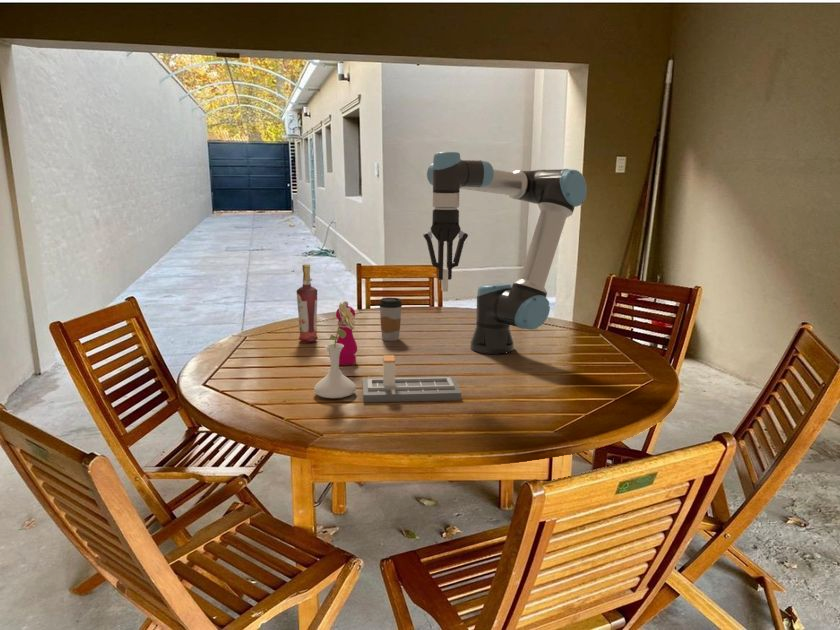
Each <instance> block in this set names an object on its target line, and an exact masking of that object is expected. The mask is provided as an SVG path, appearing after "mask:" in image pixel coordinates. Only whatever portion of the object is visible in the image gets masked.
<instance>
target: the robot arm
mask: <svg viewBox="0 0 840 630" xmlns="http://www.w3.org/2000/svg"><path fill="white" fill-rule="evenodd" d="M426 172H427V173H426V178H427V180H428V183H429V184H430V185H431V186H432V207H433V209H432V224H431V226H430V230H428V231H427V232H423V234H422V237H423V238H424V240H425V241H426V244H427V248H428V253H429V258H430V262H431V263H430V264H431V266H433V267H435V268H437V278H438V280H439V281H440V282H441V287H440V291H442V293H443V292H444V293H445V292H449V280H452V278H453V277H452V273H453V268H455V267H458V266H459V263H460V259H461V256H462V252H463V248H464V245H465V241H466V240H467V238H468V237H469V234H468V233H466V232H464V231H463V230H461V226H460V210H459V209H458V208H459V207H460V190H467V191H468V190H469V191H477V192H482V193H489V194H490V193H491V194H496V195H505V196H508V197H509V198H511V199H512V200H513V199H514V200H519V201H524V202H528V203H532V204H536V205H537V206H538V208H539V210H540V212H539V216H538V218H537V222H536V226H535V228H534V232H533V234H532V237H531V241H530V244H529V247H528V250H527V253H526V257H525V261H524V263H523V265H522V270H521V273H520V275H519V278H518V279H517V280H515V281H514V282H512V284H511V283H489V284H482V285H480V286H479V287H477V288H478V289H477V295H476V321H475V322H476V323H475V328H474V332H473V334H472V338H471V340H470V349H471V350H472V351H474V352H477V353H480V354H489V355H500V354H499V353H505V354H507V353H506V352H509V353H511V352H510V351H512V350H513V351H514V346H515V344H514V339H513V336H512V333H511V329H510V327H511V326H512V327H516V328H519V329H520V330H521V329H522V330H527V331H528V330H529V331H530V330H531V331H532V330H533V331H534V330H537V329H539V327H541V326H543V324H544V323H545V322H546V321H547V319H548V318H549V314H550V309H551V306H550V301H549V299H548V298H547V295H548V291H547V289H546V288H545V287H546V284H547V283H546V282H547V280H548V276H549V273H550V270H551V267H552V264H553V261H554V258H555V254H556V251H557V249H558V246H559V242H560V239H561V237H562V236H561V235H562V233H563V230H564V226H565V223H566V219H567V218H569V217H570V216H572V215H573V213H574V211H575V207H576V208H577V207H579V206H581V205H582V204H583V203H584V202H585V201H586V197H587V193H588V192H587V191H588V185H587V183H586V179H585V177H584V175H583V173H582V172H581V171H579V170H576V169H569V168H564V169H537V170H536V169H535V170H520V169H518V170H514V171H511V172H510V171H505V170H499V169H494V167H493V165H492V164H491V163H490V162H489V161H486V160H481V159H480V160H470V159H469V160H462V158H461V154H460V152H458V151H438V152H435V153H434V154H433V159H432V163H431V164H430V165H429V167H428V168H427V170H426ZM433 236H434V238H435V239H436V240H437V258H436V255H435V250H434V245H433V240H432V238H433ZM457 237H458V241H457V246H456V249H455V253H454V257H453V245H454V240H455V239H456V238H457ZM445 242H446V267H444V249H445V246H444V245H445ZM513 351H512V352H513Z"/></svg>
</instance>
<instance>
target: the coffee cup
mask: <svg viewBox="0 0 840 630" xmlns="http://www.w3.org/2000/svg"><path fill="white" fill-rule="evenodd" d="M401 300H402V299H400V298H398V297H384V298H380V302H379V305H378V306H379V310H380V311H379V312H380V313H379V314H380V330H381V338H382V340H383V341H385V342H395V341H396V342H397V341H399V338H400V332H401V320H402V319H401V315H402V306H403V305H402V304H403V303H402V301H401Z"/></svg>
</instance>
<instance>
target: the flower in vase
mask: <svg viewBox="0 0 840 630" xmlns="http://www.w3.org/2000/svg"><path fill="white" fill-rule="evenodd" d="M338 308H339V313H340V316H341V318H342V320H341V322H340V324H339V326H338V327H337V330H336V334H335V335H332V334H330V337H329V340H330V341H334V342H333V343H328V344H327V343H326V344H325V345H324V347H325V348H326V350H327V352H328V355H329V361H330V369H329V372H328V374H327V375H325V376H324V377H322V379H320V380H319V381H318V382H317V383H316V384H315V386H314V387H313V392H314V393H315V394H316V395H317V396H319V397H321V398H324V399H325V398H327V399H342V398H347V397H348V396H351V395H353V394H354V393H355V392H356V390H357V386H356V384H355V383H354V382H353V381H352V380H351V379H349V378H348V377H347V376H346V375H344V374H343V373H342V372H341V370H340V364H339V356H340V352H341V350H342V348H343V347H344V345H343V344H339V343H336V342H337V340H338V338H339V336H340V337H341V338H344V337H345V336H346V332H345V331H344V330H342V329H339V328H340V325H341V323H342V321H343V322H344V324H345V325H346V326H347V328H350V329H352V331H353V330H356V328H355V327H356V326H357V323H356V320H355V319H356V316H355V317H354V316H353V315H352V313H351V310H350V308H347V307H346V305H345V303H343V302H340V303H339V305H338Z"/></svg>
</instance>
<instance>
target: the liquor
mask: <svg viewBox="0 0 840 630" xmlns="http://www.w3.org/2000/svg"><path fill="white" fill-rule="evenodd" d="M302 273H303V275H302V286H300V287H298V289H296V302H297V304H296V305H297V313H298V314H297V315H298V324H299V325H298V326H299V337H298V340H299V341H300V342H301V343H302V344H303V343H304V344H312V343H315V342H316V341H317V340H318V338H319V337H318V336H317V335H318V333H317V322H318V320H317V317H318V315H317V313H318V289H316V288H315V287H314V286H312V282H311V264H302Z"/></svg>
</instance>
